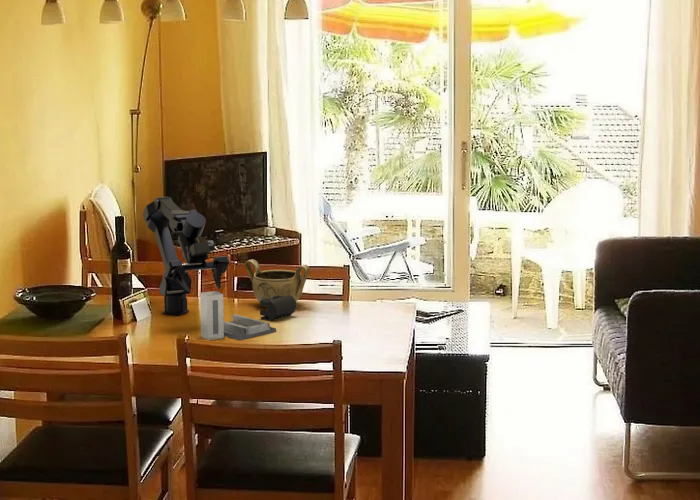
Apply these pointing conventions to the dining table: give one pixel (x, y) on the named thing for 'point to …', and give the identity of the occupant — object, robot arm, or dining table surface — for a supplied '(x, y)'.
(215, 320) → the aluminium block
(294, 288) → the ceramic bowl
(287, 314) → the end cap
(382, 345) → the dining table surface
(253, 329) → the slotted cradle
